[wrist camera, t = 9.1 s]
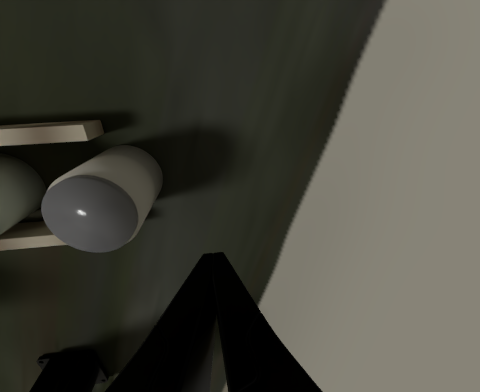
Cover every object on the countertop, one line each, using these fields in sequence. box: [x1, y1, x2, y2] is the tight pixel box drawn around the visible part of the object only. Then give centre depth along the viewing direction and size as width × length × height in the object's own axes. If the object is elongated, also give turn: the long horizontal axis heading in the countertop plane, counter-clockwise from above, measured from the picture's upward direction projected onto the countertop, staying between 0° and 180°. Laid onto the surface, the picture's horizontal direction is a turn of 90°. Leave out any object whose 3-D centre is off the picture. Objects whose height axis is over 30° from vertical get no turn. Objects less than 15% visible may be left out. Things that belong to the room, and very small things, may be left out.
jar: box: [41, 145, 163, 253], centre depth 15 cm, size 5×5×7 cm
